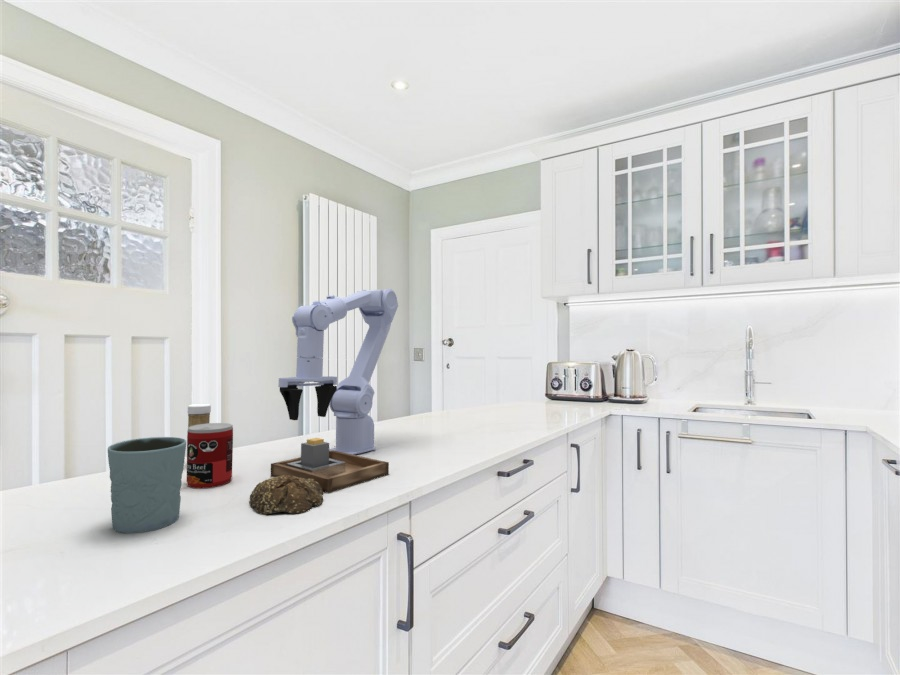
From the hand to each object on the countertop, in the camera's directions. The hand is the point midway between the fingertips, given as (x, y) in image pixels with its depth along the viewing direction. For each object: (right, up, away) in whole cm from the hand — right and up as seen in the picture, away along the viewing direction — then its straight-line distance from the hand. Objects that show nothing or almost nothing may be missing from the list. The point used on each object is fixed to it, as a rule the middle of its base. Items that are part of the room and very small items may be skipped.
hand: (308, 418), depth 107 cm
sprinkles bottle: (-24, -10, -2) cm, 26 cm away
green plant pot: (-14, -10, -35) cm, 39 cm away
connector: (+4, -10, -9) cm, 14 cm away
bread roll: (+4, -11, -26) cm, 28 cm away
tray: (+7, -10, -9) cm, 15 cm away
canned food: (-15, -10, -15) cm, 23 cm away
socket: (+4, -10, -9) cm, 14 cm away
